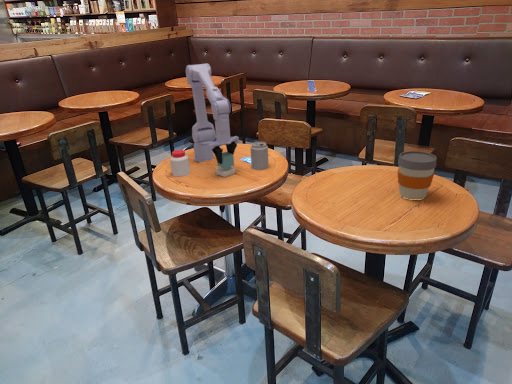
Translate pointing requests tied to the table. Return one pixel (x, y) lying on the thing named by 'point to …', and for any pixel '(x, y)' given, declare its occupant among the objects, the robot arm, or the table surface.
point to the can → (259, 156)
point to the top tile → (225, 171)
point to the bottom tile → (227, 176)
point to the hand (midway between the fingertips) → (225, 161)
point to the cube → (226, 160)
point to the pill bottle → (179, 163)
